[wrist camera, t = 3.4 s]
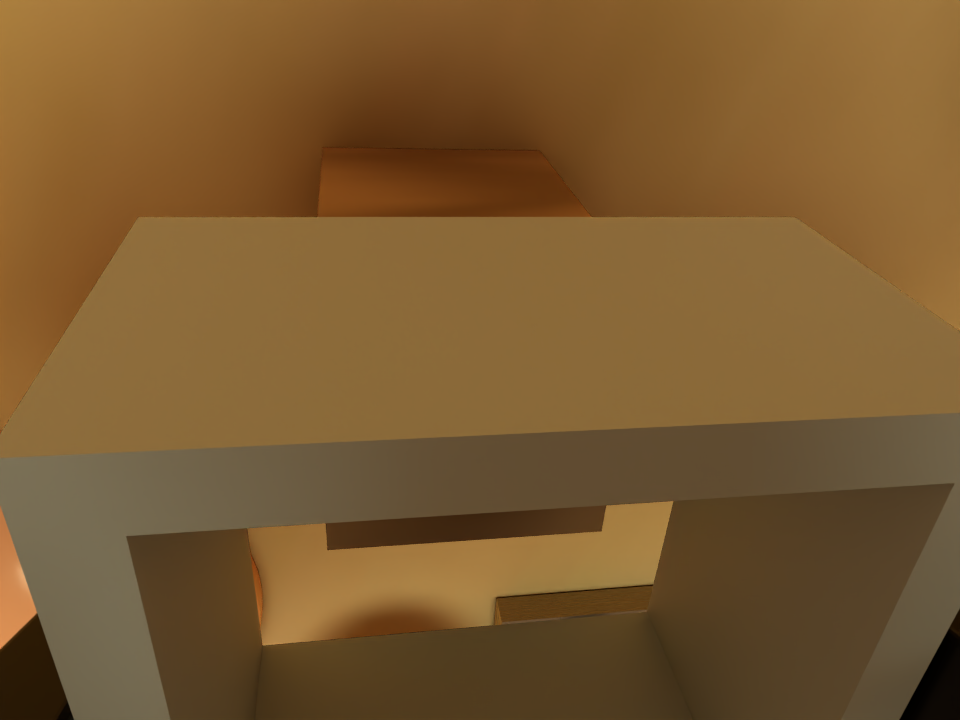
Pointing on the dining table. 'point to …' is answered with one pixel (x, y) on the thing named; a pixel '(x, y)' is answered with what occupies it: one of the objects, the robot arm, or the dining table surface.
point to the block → (448, 193)
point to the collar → (494, 463)
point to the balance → (572, 605)
